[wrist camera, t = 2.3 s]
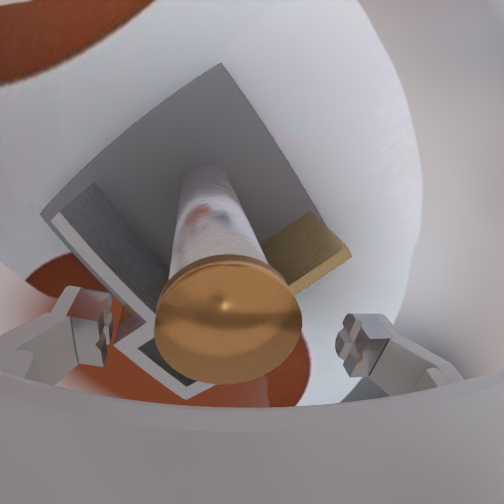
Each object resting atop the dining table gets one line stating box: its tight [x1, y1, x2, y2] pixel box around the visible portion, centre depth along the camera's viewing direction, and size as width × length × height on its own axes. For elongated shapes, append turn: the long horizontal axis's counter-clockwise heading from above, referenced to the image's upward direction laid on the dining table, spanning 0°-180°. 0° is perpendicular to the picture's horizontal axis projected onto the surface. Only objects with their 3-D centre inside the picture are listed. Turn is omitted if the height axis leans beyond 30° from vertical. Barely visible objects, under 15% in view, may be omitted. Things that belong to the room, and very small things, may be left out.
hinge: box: [51, 182, 352, 400], centre depth 24 cm, size 19×19×8 cm
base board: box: [40, 63, 325, 305], centre depth 29 cm, size 22×21×1 cm
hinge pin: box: [154, 163, 302, 384], centre depth 18 cm, size 5×5×19 cm
